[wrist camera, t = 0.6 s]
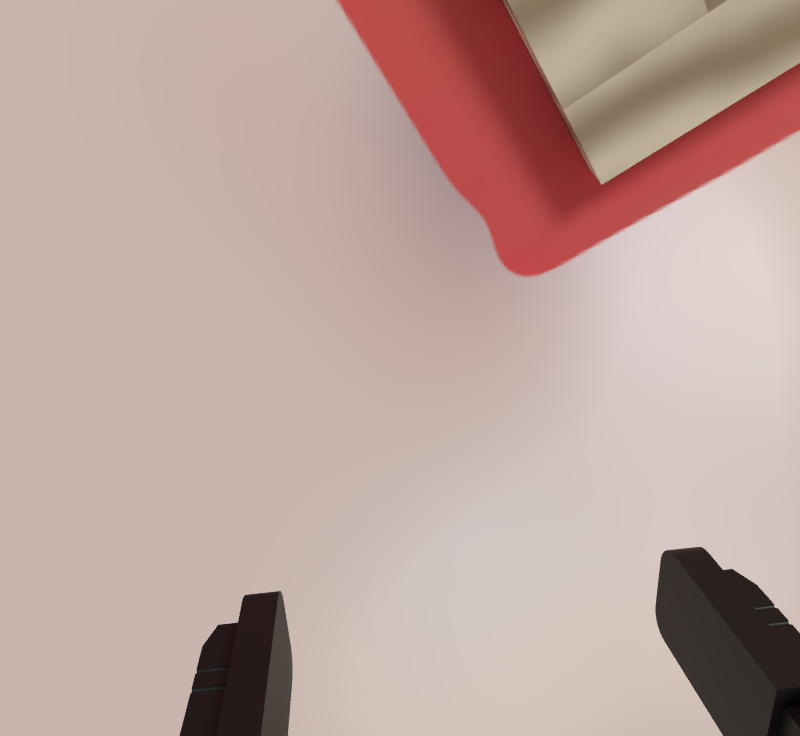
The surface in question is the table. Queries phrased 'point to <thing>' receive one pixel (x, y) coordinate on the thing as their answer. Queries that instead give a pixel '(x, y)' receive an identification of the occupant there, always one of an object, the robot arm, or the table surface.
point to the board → (651, 65)
